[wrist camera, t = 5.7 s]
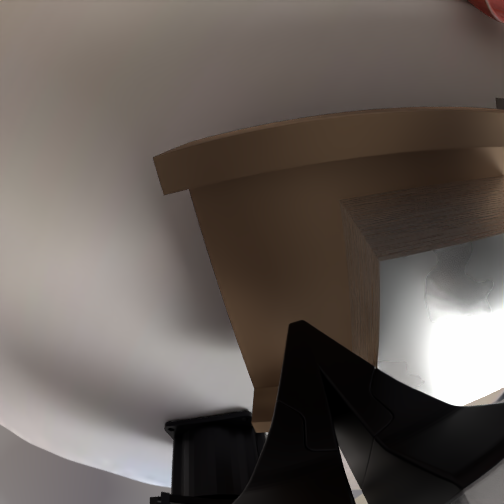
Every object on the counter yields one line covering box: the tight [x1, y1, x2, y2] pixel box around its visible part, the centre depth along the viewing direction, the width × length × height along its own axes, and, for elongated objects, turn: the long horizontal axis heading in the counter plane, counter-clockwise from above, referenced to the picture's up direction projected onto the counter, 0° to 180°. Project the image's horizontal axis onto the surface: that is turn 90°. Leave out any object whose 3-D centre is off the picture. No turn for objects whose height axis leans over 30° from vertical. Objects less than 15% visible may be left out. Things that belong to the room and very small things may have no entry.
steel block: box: [339, 176, 504, 406], centre depth 8 cm, size 7×7×4 cm
